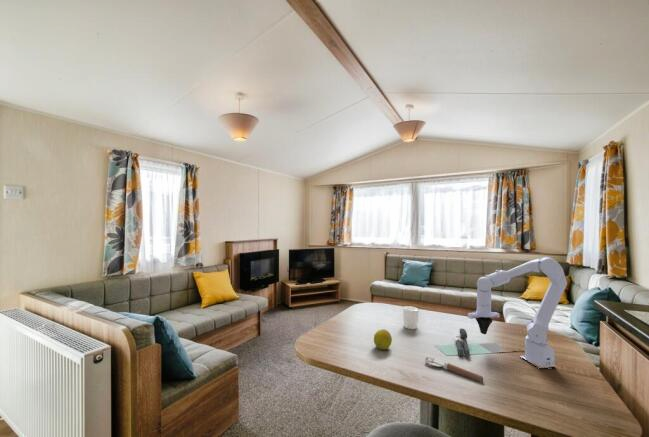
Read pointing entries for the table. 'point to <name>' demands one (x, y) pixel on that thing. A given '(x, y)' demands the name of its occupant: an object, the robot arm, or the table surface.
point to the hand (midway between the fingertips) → (483, 333)
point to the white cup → (410, 317)
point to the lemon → (382, 339)
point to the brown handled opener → (454, 369)
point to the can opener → (462, 339)
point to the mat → (470, 349)
